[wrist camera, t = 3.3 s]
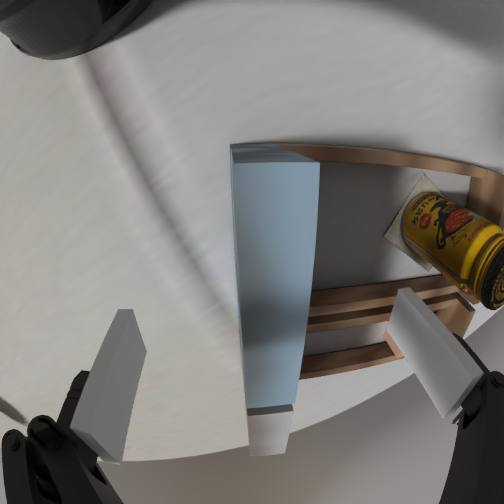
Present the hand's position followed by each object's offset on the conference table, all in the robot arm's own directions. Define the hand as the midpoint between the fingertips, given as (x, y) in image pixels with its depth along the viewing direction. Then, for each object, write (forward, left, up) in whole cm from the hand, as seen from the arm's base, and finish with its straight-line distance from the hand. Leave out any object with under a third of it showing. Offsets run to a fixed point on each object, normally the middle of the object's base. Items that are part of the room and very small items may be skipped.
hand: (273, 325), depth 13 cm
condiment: (0, +17, -11) cm, 21 cm away
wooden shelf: (0, +11, -11) cm, 16 cm away
